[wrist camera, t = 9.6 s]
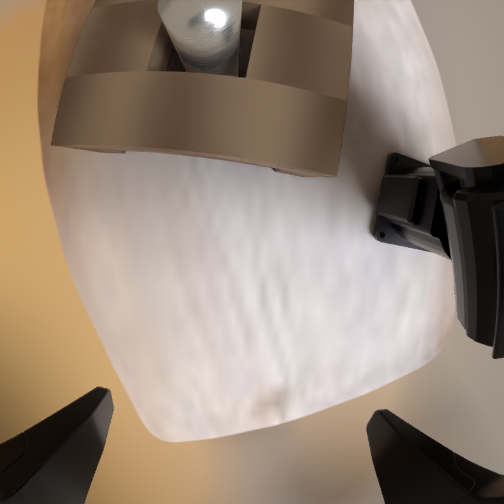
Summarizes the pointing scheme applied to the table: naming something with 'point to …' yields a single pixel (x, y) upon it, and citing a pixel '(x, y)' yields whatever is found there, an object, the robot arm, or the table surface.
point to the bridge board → (213, 88)
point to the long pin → (204, 33)
